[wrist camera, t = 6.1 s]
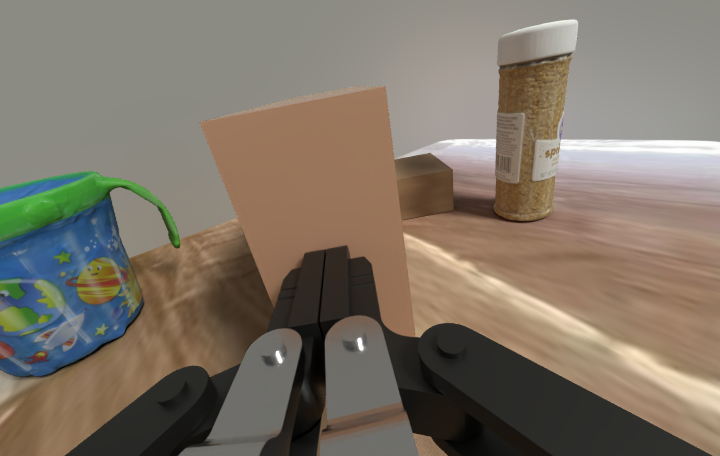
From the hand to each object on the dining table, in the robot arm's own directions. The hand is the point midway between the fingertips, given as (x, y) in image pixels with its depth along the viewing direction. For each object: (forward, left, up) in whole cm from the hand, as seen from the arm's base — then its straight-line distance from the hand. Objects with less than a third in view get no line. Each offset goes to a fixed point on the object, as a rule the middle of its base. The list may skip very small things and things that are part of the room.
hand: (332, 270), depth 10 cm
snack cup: (-19, +8, -7) cm, 22 cm away
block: (0, +8, -6) cm, 10 cm away
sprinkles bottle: (+15, +14, -7) cm, 21 cm away
